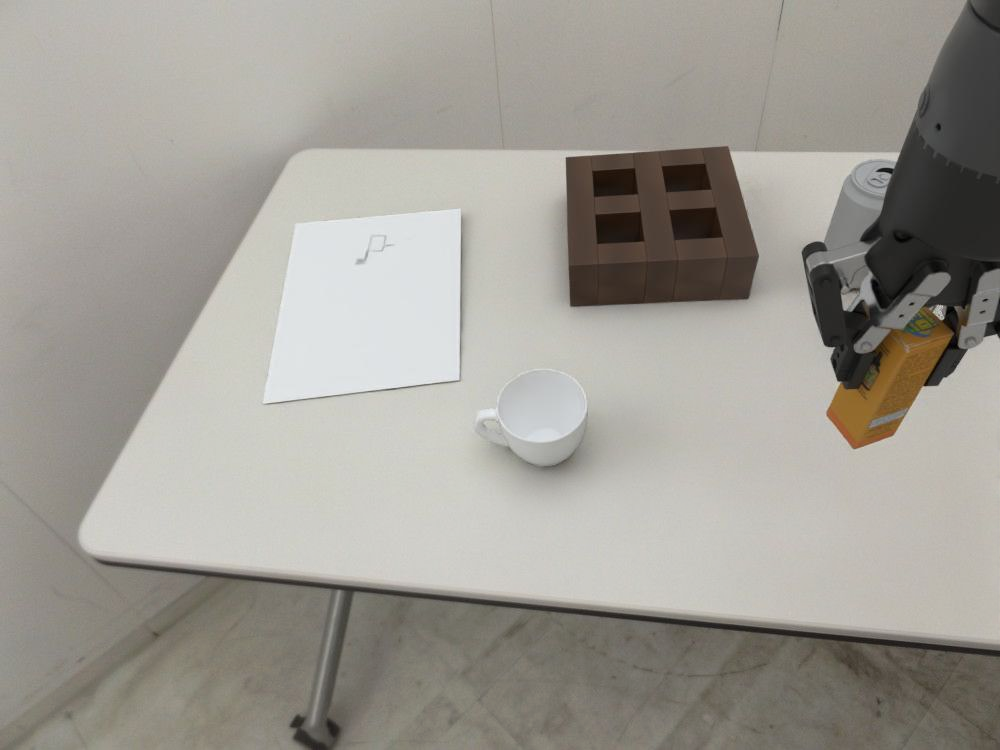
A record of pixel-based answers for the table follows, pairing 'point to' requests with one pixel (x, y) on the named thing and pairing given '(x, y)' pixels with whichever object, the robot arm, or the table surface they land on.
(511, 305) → the table surface
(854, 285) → the beverage can
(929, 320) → the supplement box
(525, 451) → the cup
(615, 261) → the peg board
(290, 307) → the paper sheet
